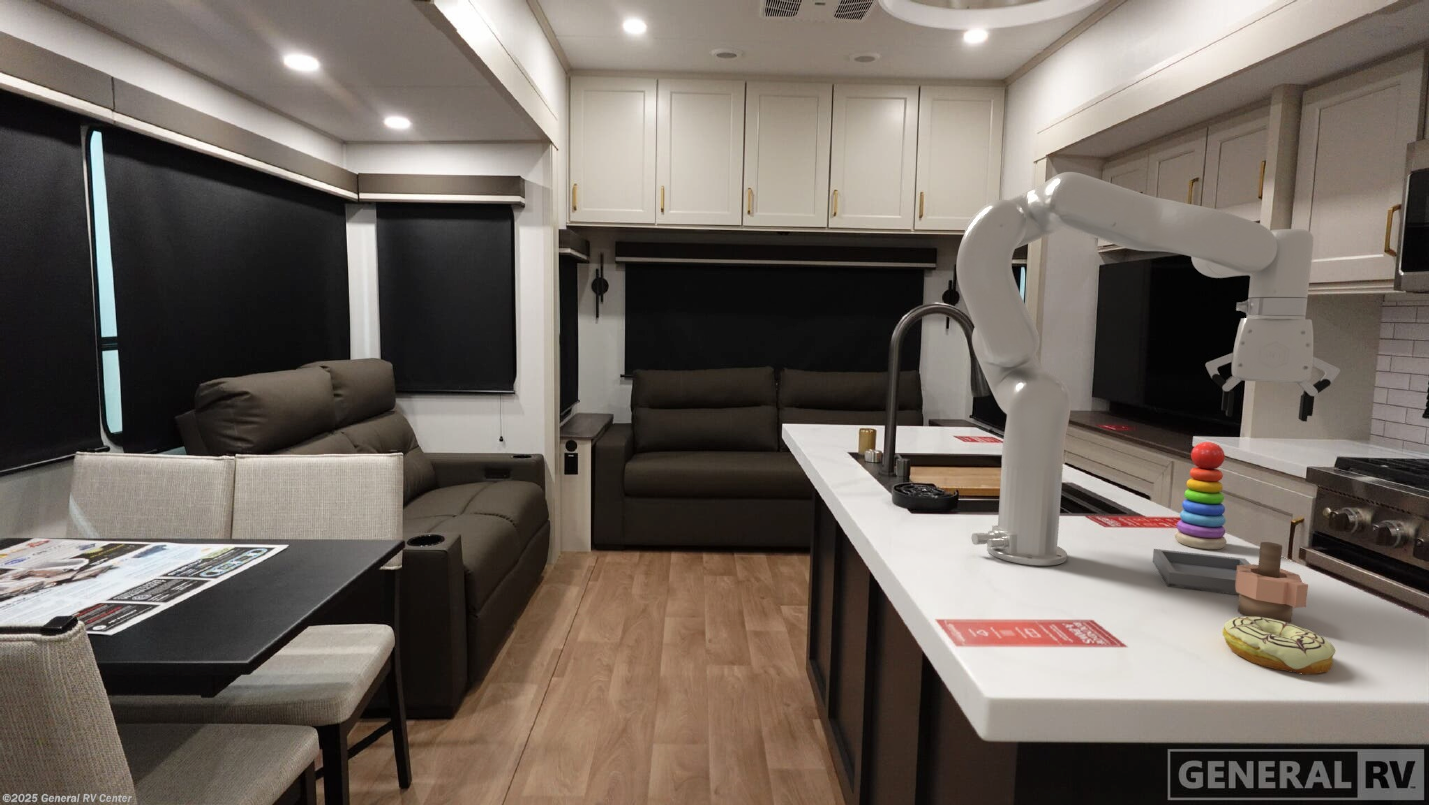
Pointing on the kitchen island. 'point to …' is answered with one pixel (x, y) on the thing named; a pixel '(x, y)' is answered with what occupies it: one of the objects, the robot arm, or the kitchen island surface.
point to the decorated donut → (1278, 645)
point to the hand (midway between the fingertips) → (1265, 417)
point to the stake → (1268, 568)
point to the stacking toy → (1203, 501)
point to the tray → (1198, 570)
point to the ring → (1271, 586)
